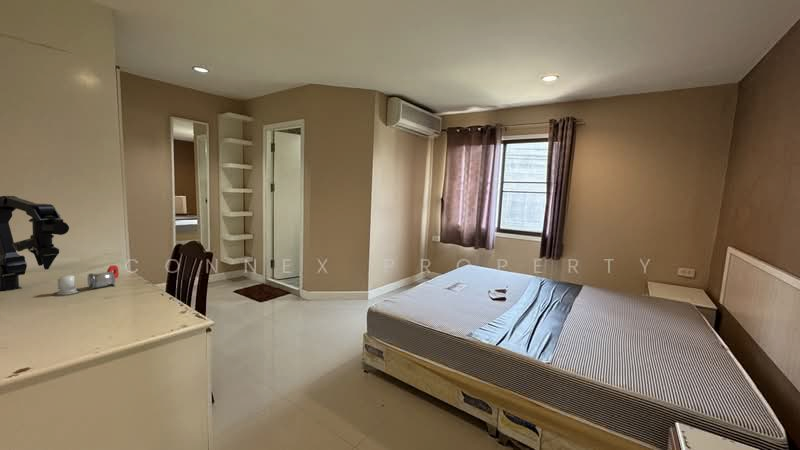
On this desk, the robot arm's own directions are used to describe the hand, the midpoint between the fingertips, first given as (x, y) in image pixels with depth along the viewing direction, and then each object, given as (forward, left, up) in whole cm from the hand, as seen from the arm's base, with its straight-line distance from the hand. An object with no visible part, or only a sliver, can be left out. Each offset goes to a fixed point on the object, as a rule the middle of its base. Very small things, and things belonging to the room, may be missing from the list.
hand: (43, 267), depth 141 cm
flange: (+8, +6, -11) cm, 15 cm away
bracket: (-3, +22, -12) cm, 25 cm away
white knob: (+8, +6, -11) cm, 14 cm away
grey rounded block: (+8, +18, -11) cm, 22 cm away
